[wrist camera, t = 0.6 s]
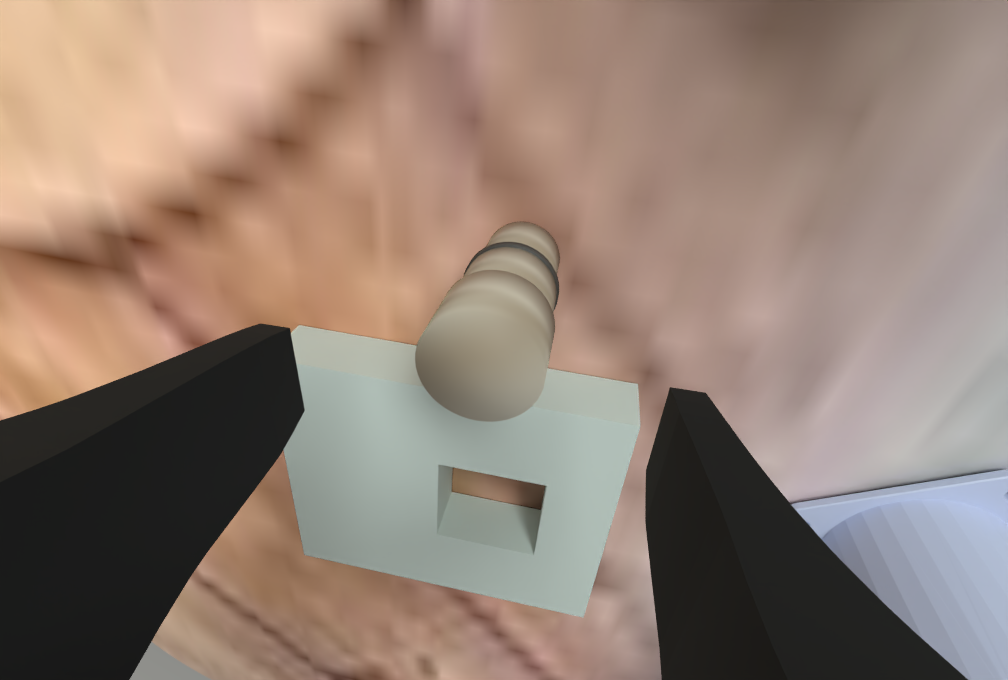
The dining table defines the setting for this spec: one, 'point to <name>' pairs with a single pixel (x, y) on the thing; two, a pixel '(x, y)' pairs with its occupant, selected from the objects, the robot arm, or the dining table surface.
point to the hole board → (428, 474)
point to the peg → (494, 328)
